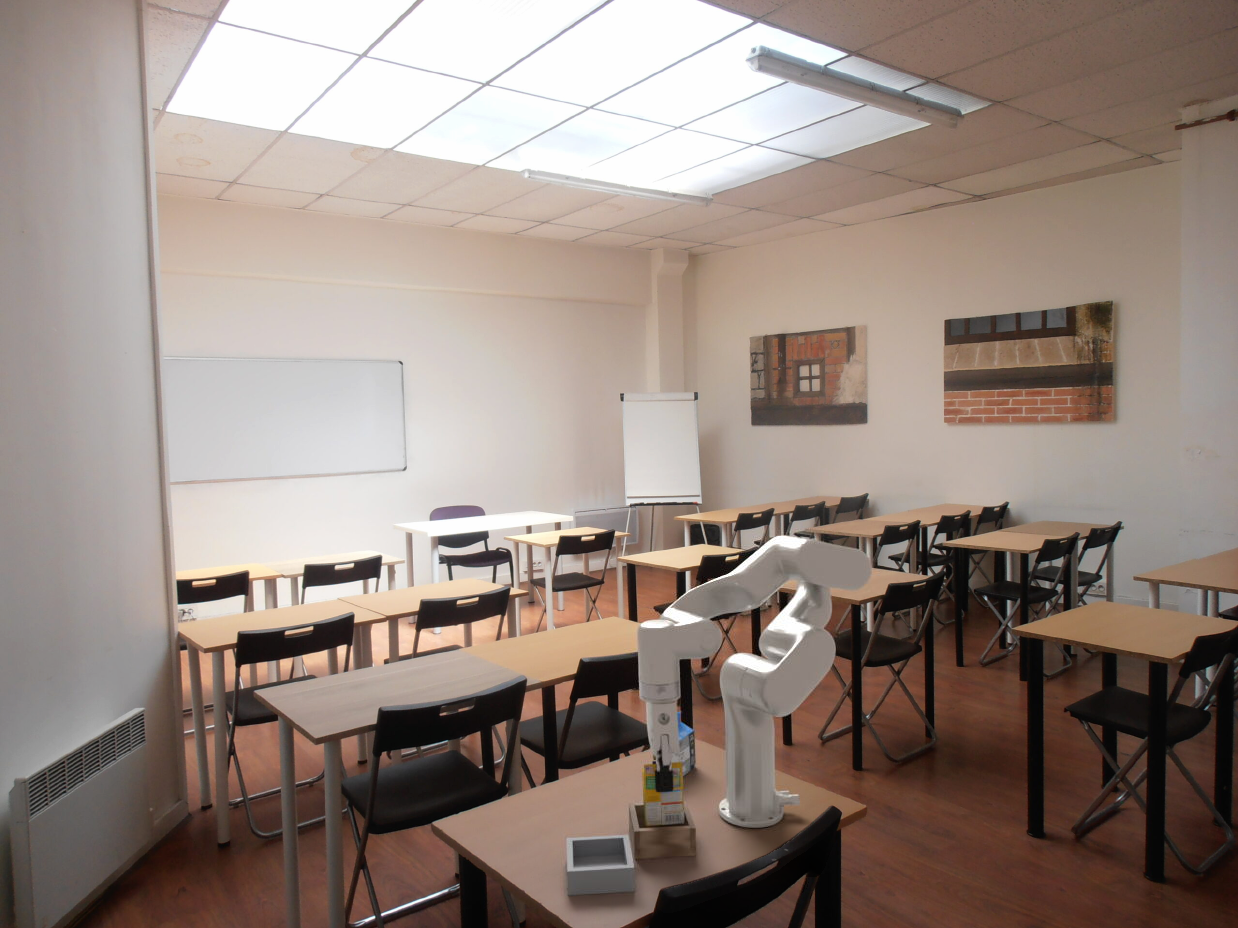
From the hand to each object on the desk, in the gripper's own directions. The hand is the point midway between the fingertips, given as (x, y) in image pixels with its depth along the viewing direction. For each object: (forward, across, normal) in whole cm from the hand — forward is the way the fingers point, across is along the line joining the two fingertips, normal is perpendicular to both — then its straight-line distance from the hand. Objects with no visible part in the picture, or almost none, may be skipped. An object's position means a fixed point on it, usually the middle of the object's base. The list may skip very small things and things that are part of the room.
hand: (663, 785), depth 148 cm
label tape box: (+11, +30, -7) cm, 33 cm away
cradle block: (+10, -10, +13) cm, 19 cm away
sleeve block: (+10, 0, +1) cm, 10 cm away
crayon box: (+7, 0, 0) cm, 7 cm away
